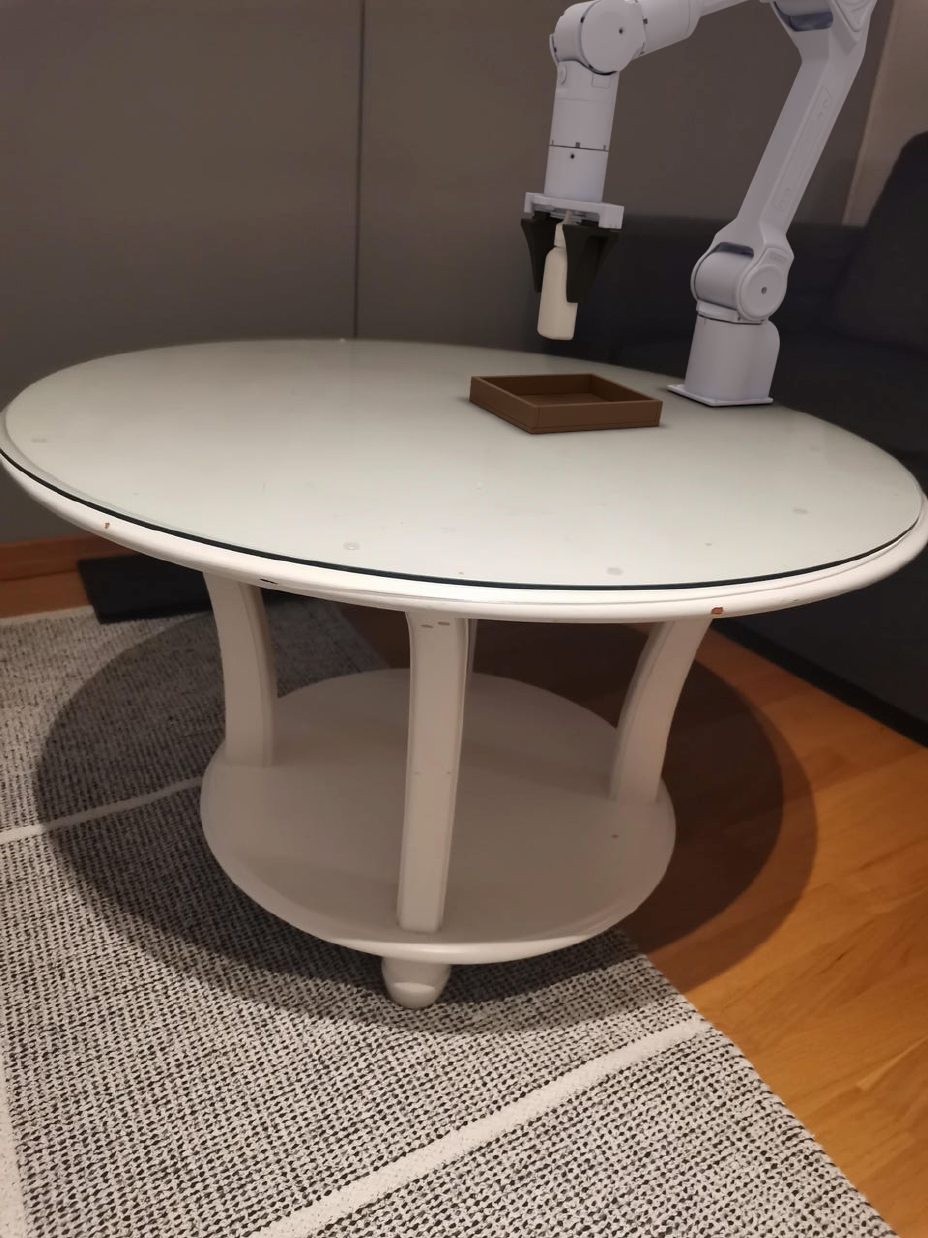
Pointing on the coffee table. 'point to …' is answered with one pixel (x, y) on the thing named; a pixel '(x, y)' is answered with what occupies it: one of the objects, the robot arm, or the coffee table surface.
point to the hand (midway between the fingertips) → (559, 297)
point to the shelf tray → (564, 402)
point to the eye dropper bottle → (557, 291)
